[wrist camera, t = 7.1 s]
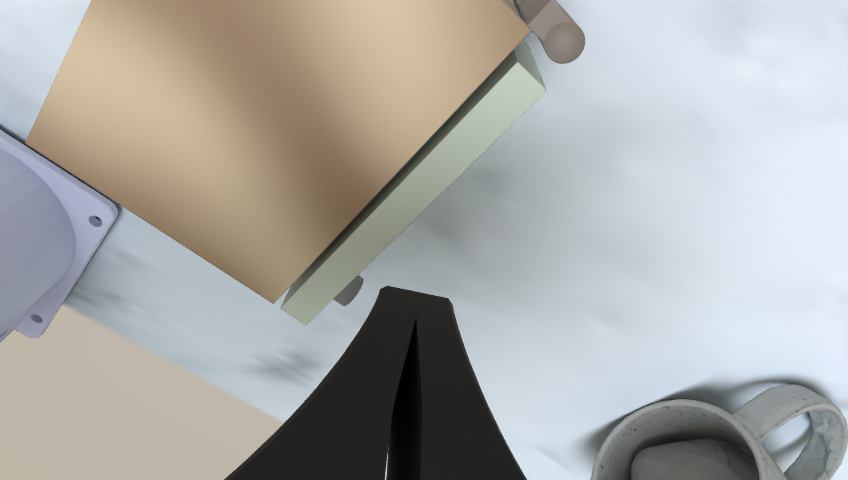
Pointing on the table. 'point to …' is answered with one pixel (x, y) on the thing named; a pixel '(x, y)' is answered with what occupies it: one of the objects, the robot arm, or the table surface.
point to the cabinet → (270, 111)
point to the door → (418, 184)
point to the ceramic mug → (722, 440)
